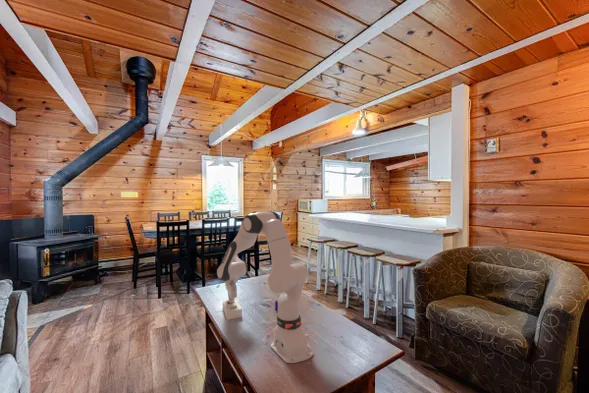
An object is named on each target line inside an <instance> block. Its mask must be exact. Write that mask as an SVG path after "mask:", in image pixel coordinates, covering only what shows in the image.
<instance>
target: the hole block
mask: <svg viewBox="0 0 589 393" xmlns="http://www.w3.org/2000/svg"><path fill="white" fill-rule="evenodd" d="M222 310H223V313H224V315H225V318H226V321H228V320H234V319H238V318H242V317H243V308H242V306H241V305H240V303H239V300H238V298H235V299H234V303H232V304H229V299H227V300H222Z"/></svg>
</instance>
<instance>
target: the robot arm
mask: <svg viewBox="0 0 589 393" xmlns="http://www.w3.org/2000/svg"><path fill="white" fill-rule="evenodd" d="M260 233H263V234H264V235H265V238H266V241H267V245H268V248H269V249H268V250H269V254H270V256H271V258H270V259H271V270H270V273H269V275H268V277H267V285H268V288H269V290H270V291H271V292H272V293H274V294H280V295H279V297H278V299H277V300H278V311H277V315H276V325H275V327H274V329H273V341H272V343H271V344H270V348H271V350H272V351H274V352H275V353H276V354H277V356H279V357H280V358H281V359H282V360H283V361H284V362H285V363H287V364H295V363H301V362H304V361H306V360H309V359H310V358H312V357H313V356H314V352H313V350H312V348H311V346H310V344H309V342H308V340H309V334H308V333H305V331H306V330H305V328H303V325H302V318H301V313H300V312H301V311H300V307H301V296H302V293H303V290H304V289H303V288H304V286H305V283H306V281H307V280H308V277H309V271H308V268H307V266H306V265H305V264H303V263H299V262H297V263H295V262H294V263H291V257H292V254H293V249H292V248H293V247H292V245H291V242H290V239H289V235H288V233H287V230H286V227H285V226H284V224H283V221H282V220H281V217H280V214H278V213H277V212H275V211H271V210H270V211H259V212H258V211H257V212H253V213H248V214H247V215H245V216H244V217H243V220H242V222H241V224H240V226H239V229H238V232H237V235H236V236H235V237H234V239H233V240H232V241H231V242H230V243H229V245H228V247H227V249H226V251H225V254H224V255H223V258H222V260H221V262H220V264H219V265H218V267H217V269H216V276H217V278H218V280H220V281H222V282H224V284H225V285H224V286H225V289H226V291H227V297H228V298H229V295H230V297H231V303H234V299H237V297H238V291H237V288H238V287H237V282H239V278H240V277H244V276H245V275H246V274H247V273H248V264H247V263H246V262H245V261H244V260H241V258H239V255H238V254H239V253H241V252H243V251H245V250H248V249H250V248H251V247H253V246H254V245H255V243H256V241H257V239H258V236H259V234H260Z"/></svg>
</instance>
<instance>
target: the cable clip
mask: <svg viewBox="0 0 589 393" xmlns="http://www.w3.org/2000/svg"><path fill="white" fill-rule="evenodd" d="M274 304H275V305H274V310H275V311H277V312H278V299H276V300H275V301H274Z"/></svg>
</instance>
